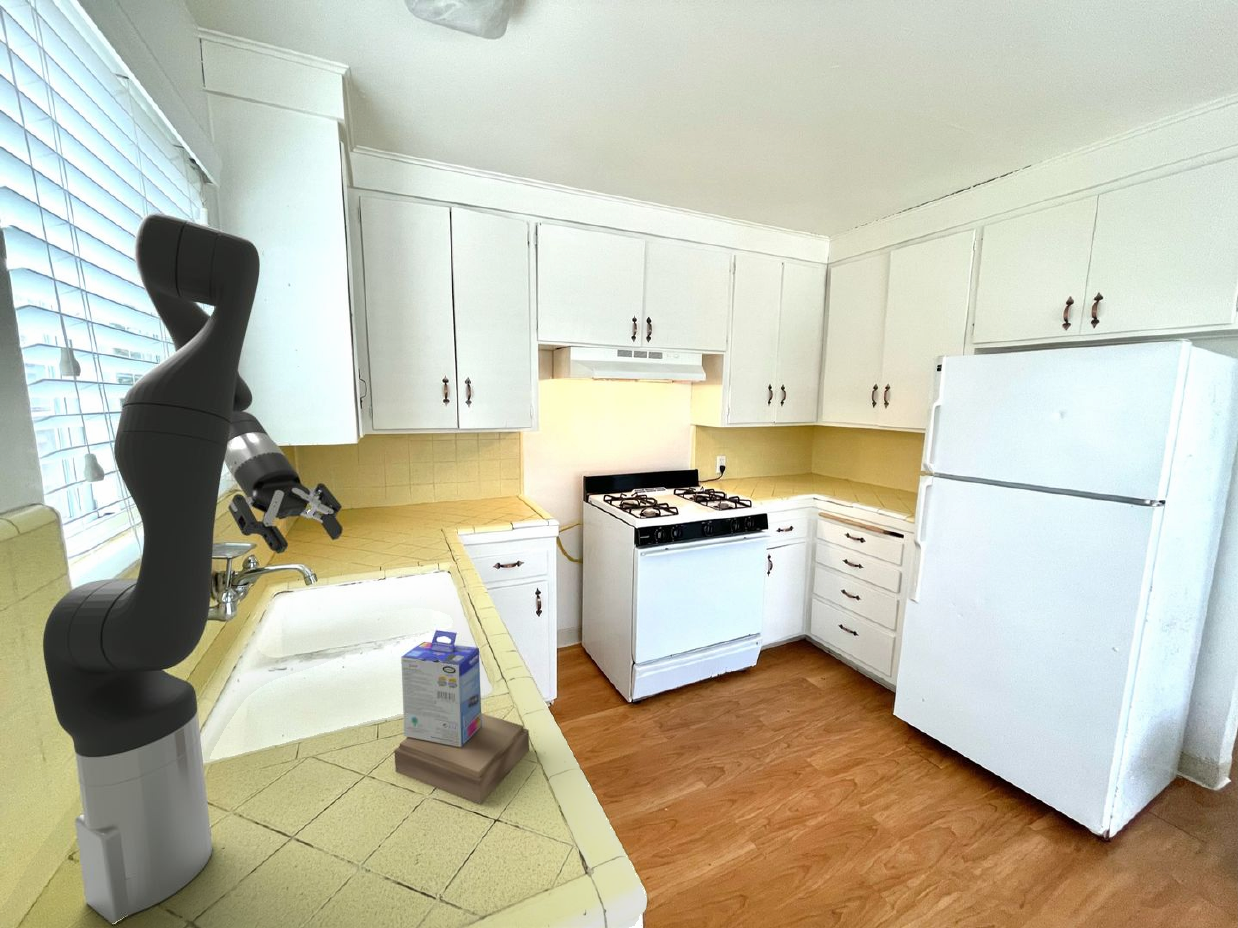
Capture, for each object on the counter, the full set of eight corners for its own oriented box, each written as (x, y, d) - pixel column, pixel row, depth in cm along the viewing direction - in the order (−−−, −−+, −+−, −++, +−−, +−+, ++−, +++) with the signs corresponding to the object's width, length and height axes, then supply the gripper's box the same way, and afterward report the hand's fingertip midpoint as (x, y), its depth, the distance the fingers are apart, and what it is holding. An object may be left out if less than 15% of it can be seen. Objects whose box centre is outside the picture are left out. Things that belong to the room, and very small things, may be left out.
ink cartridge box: (484, 724, 71) (480, 631, 70) (463, 749, 66) (458, 649, 64) (427, 714, 74) (422, 624, 72) (402, 737, 68) (396, 641, 67)
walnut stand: (480, 804, 61) (479, 775, 61) (395, 771, 67) (393, 744, 67) (529, 749, 71) (528, 724, 71) (451, 725, 77) (450, 701, 77)
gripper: (217, 454, 70) (272, 538, 66) (313, 448, 83) (364, 518, 79) (200, 488, 72) (252, 571, 69) (296, 477, 85) (344, 546, 82)
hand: (312, 542), depth 74 cm, fingers open, 8 cm apart
